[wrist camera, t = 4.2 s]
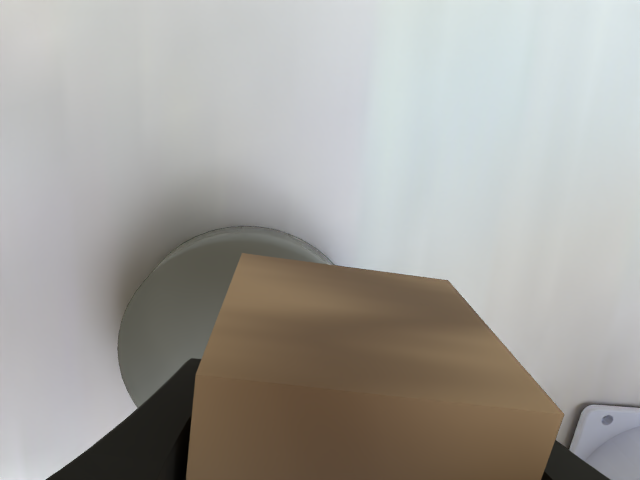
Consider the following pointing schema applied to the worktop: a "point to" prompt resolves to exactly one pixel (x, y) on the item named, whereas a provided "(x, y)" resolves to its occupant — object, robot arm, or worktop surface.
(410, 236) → the worktop surface
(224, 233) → the slate pedestal
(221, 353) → the walnut cube
